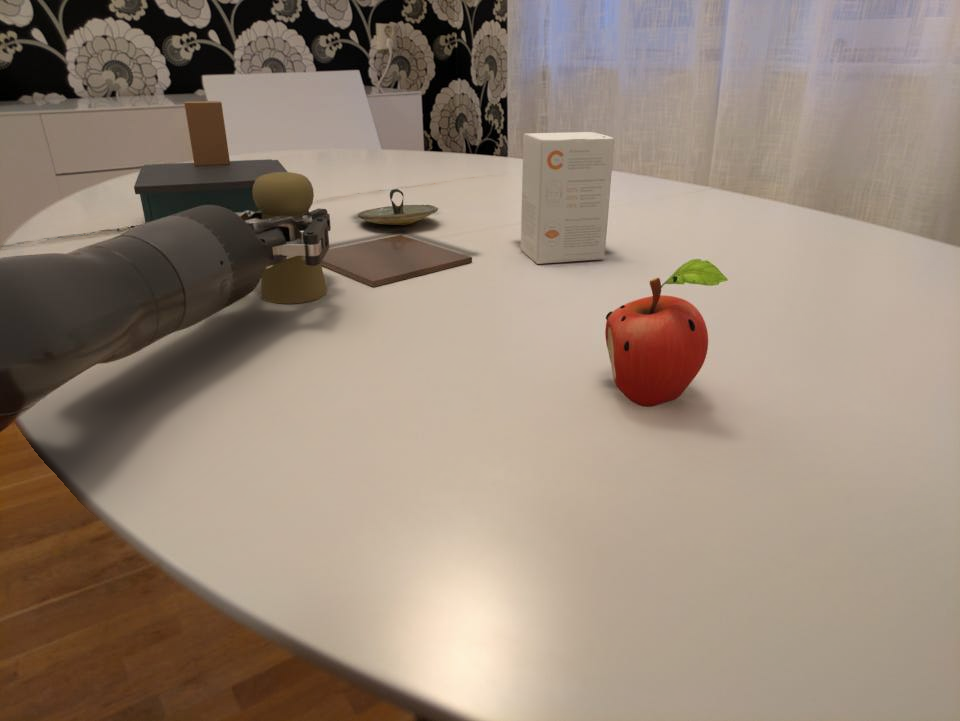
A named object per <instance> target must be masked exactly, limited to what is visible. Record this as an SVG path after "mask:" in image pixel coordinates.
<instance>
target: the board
mask: <svg viewBox="0 0 960 721" xmlns="http://www.w3.org/2000/svg"><path fill="white" fill-rule="evenodd" d="M470 263H473V256H469V255H466V254H463V253H460V252H456V251H453V250H450V249H447V248H445V247H441V246H437V245H434V244H431V243H428V242H425V241H423V240H418V239H416V238H412V237H409V236H405V235H402V234H398V235H397V234H396V235H393V236H387V237H384V238H378V239H373V240H367V241H363V242H358V243H352V244H348V245H343V246H338V247H333V248H329V249H328V251H327V253H326V255H325V256H324V258H323V260H322V262H321V266H322V267H324V268H326V269H328V270H331V271H334V272H336V273H338V274H341V275H343V276H346V277H347V278H351V279H352V280H355V281H357V282H359V283H360V282H361V283H363V284H365V285H367V286H370V287H372V288H376V287H378V286H383V285H387V284H392V283H395V282H399V281H403V280H407V279H411V278H415V277H419V276H423V275H427V274H430V273H435V272H439V271H442V270H446V269H450V268H455V267H458V266H463V265H466V264H470Z"/></svg>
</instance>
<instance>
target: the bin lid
mask: <svg viewBox="0 0 960 721" xmlns="http://www.w3.org/2000/svg"><path fill="white" fill-rule="evenodd" d="M184 110H185V116H186V123H187V128H188V135H189V141H190V146H191V153H192V159H193V162H191V163H192V164H173V163H168V164H169V165H152V164H145V165H146V166H144V165H141V166H140V169H139V173H138V175H137V178H136V180H135V183H134V186H133V189H134V190H133V191H134V194H135V195H140V194H152V193H170V192H188V191H205V190H223V189H241V188H253V185H254V183H255V181H256V179H257V178H259V177H260V176H262V175H266V174H269V173H275V172H288V169H286V168H285V167H284V166H283V164H282V163H281V162H280V161H279V159H272V160H267V159H260V160H261V161H243V160H237V161H238V162H230V161H231V160H230V153H229V144H228V137H227V130H226V124H225V118H224V111H223V110H224V109H223V104H222V101H221V100H206V101H205V100H204V101H203V100H202V101H201V100H195V101H193V100H192V101H184Z"/></svg>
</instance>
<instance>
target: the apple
mask: <svg viewBox="0 0 960 721" xmlns="http://www.w3.org/2000/svg"><path fill="white" fill-rule="evenodd" d="M728 281H729V279H728V277H726V276H725V275H724V273H723V272H722V271H721V270H720V269H719V268H718V267H717V266H716V265H714V264H713V263H712V262H711V261H709V260H708V259H705V260H702V258H693V259H691V260H688V261H687V262H685V263H683V264H682V265H680V266H679V267H678V268H677V269H676V270H675V271H674V272H673V273H672V274H671V275H670V276H669V278H667V280H665V281H664V282H663V283H661V279H660V277H655V278H652V279H650V280H649V287H650V289H651V293H652V294H651V295H650V296H645V297H642V298H638V299H636V300H632V301H630V302H627V303H625V304H622V305H620V306H619V307H617V308H615V309H614V310H612V311H611V310H610V311H609V312H608V313H607V314H606V316H605V320H606V322H605V331H604V334H605V343H606V347H607V353H608V356H609V362H610V365H611V373H612V377H613V381H614V384H615V386H616V388H617V389H618V390H619V391H620V393H621V394H622V395H623V396H624V397H625V398H627V400H629V401H630V402H631V403H632V404H635V405H637V406H640V407H644V408H653V407H657V406H660V405H664V404H665V403H669V402H673V401H675V400H677V399H678V398H680V397H681V396H682V395H683V393H684V392H686V389H687V388H688V387H689V386H690V384H691V383H692V382H693V380H694V379H695V378H696V377H697V375H698V374H699V372H700V371H701V369H702V367H703V365H704V364H705V360H706V358H707V354H708V349H709V334H708V333H709V332H708V328H707V325H706V321H705V319H704V317H703V315H702V314H701V312H700V311H699V309H698V308H697V307H696V306H695V305H694V304H693V303H691V302H690V301H688V300H686V299H684V298H681V297H678V296H673V295H665V294H663V295H661V294H662V288H664V285H685V284H689V285H701V286H709V287H711V286H712V287H713V286H718V285H720V283H723V282H728Z"/></svg>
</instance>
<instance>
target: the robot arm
mask: <svg viewBox="0 0 960 721" xmlns="http://www.w3.org/2000/svg"><path fill="white" fill-rule="evenodd" d="M277 226H279V228H278V227H277ZM298 226H299V236H300V239H296V228H297V227H298ZM331 226H332V225H331V215H330V213H328V210H327V209H326V208H316V209H313V210H311V211H309V213H307V214H304V215H302V216H298V217H295V218H293V217H289V216H283V215H279V216H275V217H271V218H267V219H263V220H262V212H261V211H260V210H259V211H256V212H252V211H245V212H241V213H239V212H232V211H231V210H229V209H226V208H224V207H221V206H216V205H202V206H198V207H195V208H192V209H188V210H185V211H182V212H179V213H176V214H173V215H170V216H166V217H163V218H160V219H157V220H154V221H151V222H147V223H145V222H144V223H141V224H139V225H137V226H134V227H132V228H130V229H127V230H126V231H124V232H122V233H120V234H118V235H115V236H113V237H111V238H108V239H104V240H102V241H98V242H96V243H93V244H89V245H86V246H83V247H79V248H77V249H74V250H71V251H69V252H67V253H61V252H60V253H59V252H58V253H57V252H56V253H55V252H54V253H53V252H52V253H38V254H24V255H22V254H21V255H11V256H3V257H0V433H1V432H4V431H5V430H6V429H7V428H8V427H10V425H13V423H15V422H16V421H17V420H18V419H19V418H21V417H22V416H23V415H24V414H25V413H27V412H28V411H29V410H31V409H32V408H33V407H35V405H37V404H38V403H40V402H41V401H42V400H44V399H45V398H46V397H48V396H49V395H50V394H51V393H53V392H54V391H56V390H57V389H59V388H60V387H62V386H64V385H66V384H67V383H68V382H70V381H71V380H73V379H75V378H76V377H78V376H80V375H81V374H82V373H84V372H86V371H87V370H89V369H91V368H92V367H95V366H96V365H100V364H101V365H103V364H110V363H113V362H117V361H119V360H122V359H125V358H127V357H129V356H132V355H134V354H136V353H138V352H140V351H142V350H143V349H145V348H148V347H149V346H150V345H152V344H154V343H156V342H158V341H160V340H161V339H163V338H166V337H167V336H169V335H171V334H173V333H176V332H179V331H182V330H186V329H188V328H191V327H193V326H195V325H197V324H199V323H201V322H203V321H205V320H206V319H207V318H210V317H211V316H213V315H215V314H217V313H219V312H220V311H222V310H225V309H226V308H227V307H229V306H231V305H233V304H234V303H236V302H238V301H240V300H241V299H243V298H244V299H245V297H247V296H249V295H250V294H251V293H252V292H254V291H255V289H256V288H257V286H259V283H260V282H261V277H262V275H263V273H264V271H265V269H267V268H270V267H272V266H273V265H275V264H279V263H282V262H284V261H285V260H286V259H289V258H292V257H295V256H302V260H304V261H305V264H306V265H310V266H316V265H319V264H321V262H322V260H323V258H324V256H325V255H326V253H327V251H328V249H330V238H329V236H330V235H329V232H331V230H332V227H331Z"/></svg>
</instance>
